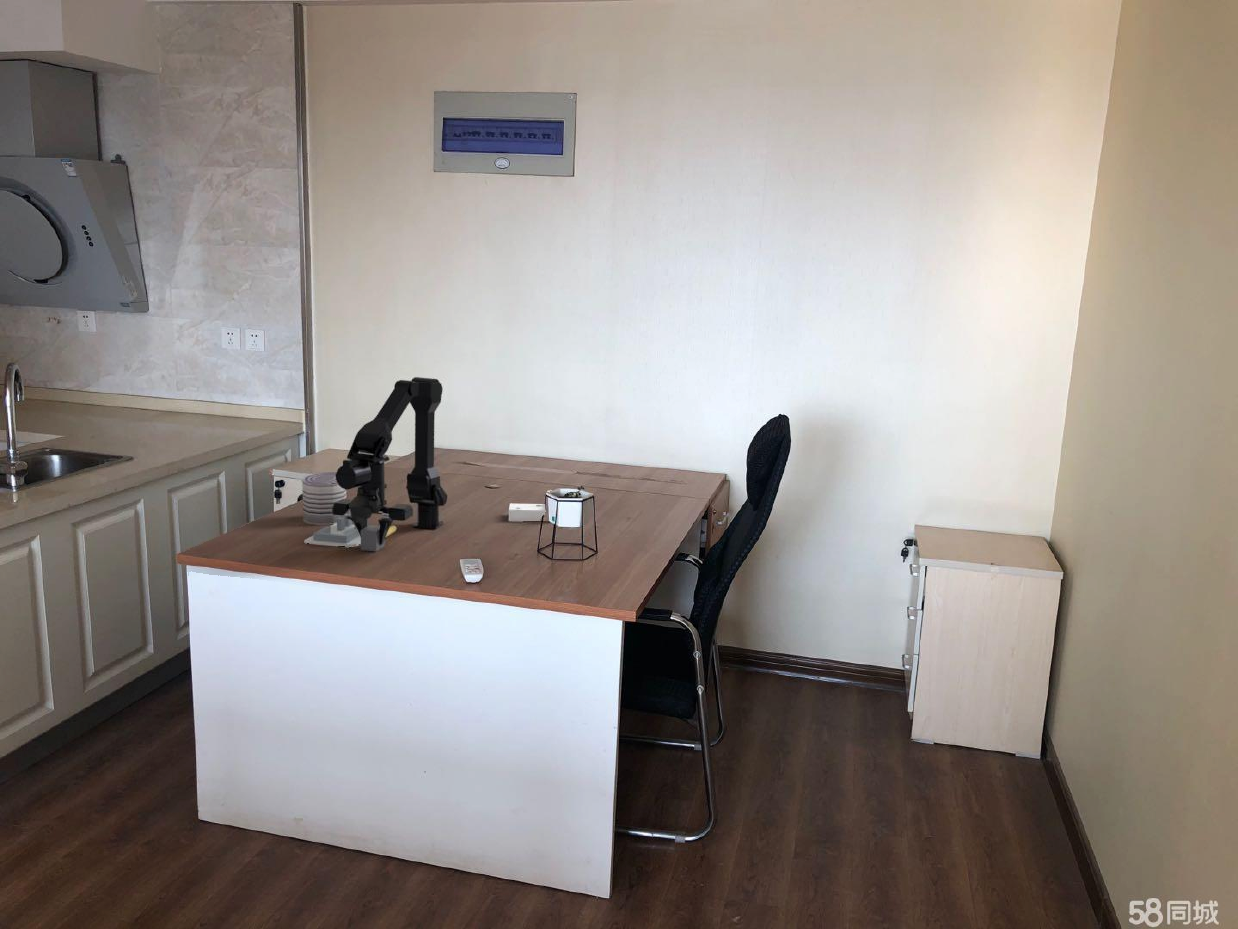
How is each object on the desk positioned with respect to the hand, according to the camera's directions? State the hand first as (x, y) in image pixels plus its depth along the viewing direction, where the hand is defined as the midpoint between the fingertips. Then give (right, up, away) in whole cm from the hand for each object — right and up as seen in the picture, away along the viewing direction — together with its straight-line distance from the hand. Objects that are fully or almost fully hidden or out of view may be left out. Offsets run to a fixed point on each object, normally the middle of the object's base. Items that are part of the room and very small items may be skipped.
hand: (372, 543), depth 240 cm
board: (-10, +1, +9) cm, 13 cm away
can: (-19, +4, +24) cm, 31 cm away
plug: (+1, 0, +5) cm, 6 cm away
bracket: (+36, +4, +35) cm, 50 cm away
